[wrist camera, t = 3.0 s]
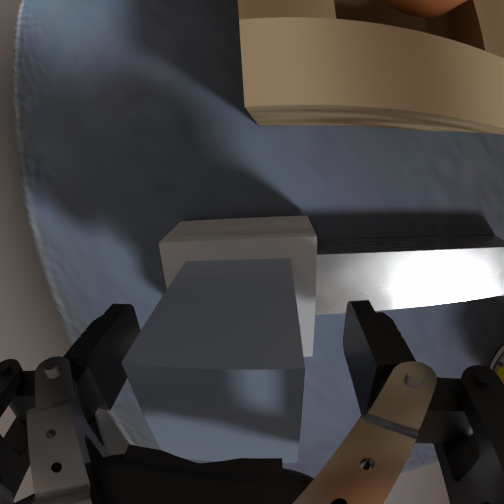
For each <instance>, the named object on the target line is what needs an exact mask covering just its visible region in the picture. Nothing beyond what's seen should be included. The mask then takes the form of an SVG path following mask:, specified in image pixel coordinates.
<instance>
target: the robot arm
mask: <svg viewBox="0 0 504 504" xmlns="http://www.w3.org/2000/svg"><path fill="white" fill-rule="evenodd" d="M139 333H140V328H139V324H138V321H137V317H136V313H135V310H134V307H133V306H132V305H131V304H112V305H111V306H110V307H109V309H108V310H107V311H106V312H105V313H104V315H102V316H100V317H99V318H97V319H96V320H94V321H93V322H92V323H91V324H90V325H89V326H88V327H87V329H86V331H84V332H83V333H82V334H81V337H79V338H78V339H77V341H76V342H75V343H74V344H73V345H72V347H71V348H70V349H69V350H68V352H67V353H66V354H65V356H63V357H60V356H59V357H58V356H57V357H51V358H48V359H46V360H44V361H43V362H42V363H40V364H39V366H38V367H37V368H36V371H23V370H22V368H21V366H20V364H19V362H18V361H17V360H14V359H7V360H4V361H2V362H0V417H1V416H2V414H3V413H4V411H5V410H6V408H7V407H8V405H9V406H10V408H11V409H12V411H13V412H14V414H15V415H16V418H15V420H14V422H13V423H12V425H11V426H10V428H9V430H8V432H7V433H6V435H5V437H4V438H3V437H2V436H1V435H0V504H383V503H384V501H385V499H386V498H387V496H388V494H389V493H390V491H391V489H392V487H393V486H394V484H395V482H396V480H397V478H398V476H399V474H400V473H401V471H402V469H403V467H404V465H405V463H406V461H407V459H408V457H409V455H410V452H411V450H412V448H413V446H414V444H415V443H433V444H434V447H435V450H436V453H437V456H438V460H439V463H440V466H441V470H442V474H443V477H444V481H445V485H446V489H447V493H448V497H449V501H450V504H504V384H503V382H502V380H501V379H500V377H499V376H498V374H497V373H496V372H495V371H493V370H492V369H490V368H488V367H486V366H481V365H474V366H470V367H468V368H467V369H466V370H465V371H464V372H463V374H462V377H461V379H454V378H439V377H437V376H436V374H435V372H434V371H433V369H431V368H430V367H429V366H427V365H425V364H423V363H420V362H416V360H415V359H414V357H413V355H412V353H411V351H410V349H409V348H408V346H407V344H406V342H405V340H404V339H403V337H402V335H401V333H400V332H399V330H397V326H396V325H395V323H394V321H393V320H392V319H391V318H390V317H389V316H387V315H386V314H384V313H383V312H378V313H376V312H375V310H374V308H373V307H372V305H371V303H370V301H369V300H357V301H348V303H347V308H346V318H345V327H344V335H343V348H344V354H345V357H346V361H347V364H348V367H349V371H350V375H351V378H352V382H353V385H354V389H355V393H356V396H357V400H358V404H359V408H360V411H361V415H362V416H361V417H360V418H359V419H358V421H357V422H356V424H355V425H354V427H353V428H352V430H351V431H350V432H349V434H348V435H347V437H346V438H345V440H344V441H343V442H342V444H341V445H340V446H339V448H338V449H337V451H336V452H335V453H334V454H333V456H332V457H331V458H330V460H329V461H328V462H327V464H326V465H325V466H324V467H323V469H322V470H321V471H320V472H319V474H318V475H317V476H316V477H315V478H312V477H310V476H308V475H306V474H303V473H301V472H297V471H294V470H290V469H285V468H282V458H238V459H232V460H225V461H218V462H210V463H195V462H192V461H189V460H186V459H184V458H181V457H178V456H175V455H173V454H170V453H168V452H165V451H162V450H156V449H150V448H145V447H139V446H134V445H130V444H129V446H128V448H127V451H126V453H125V454H119V455H112V456H111V454H110V452H109V449H108V447H107V443H106V441H105V438H104V434H103V431H102V428H101V425H100V422H99V419H98V416H97V414H96V413H95V412H96V410H97V409H98V408H101V409H105V410H111V408H112V406H113V404H114V402H115V400H116V398H117V396H118V394H119V393H120V391H121V389H122V387H123V385H124V383H125V381H126V379H127V378H128V377H127V375H126V372H125V370H124V367H123V365H122V361H123V359H124V357H125V356H126V354H127V353H128V351H129V349H130V348H131V346H132V344H133V343H134V341H135V339H136V338H137V336H138V335H139ZM30 465H31V473H32V480H33V486H34V492H35V493H34V494H32V495H30V496H28V497H26V498H24V499H22V500H20V501H18V502H16V503H14V498H15V495H16V493H17V491H18V489H19V486H20V484H21V482H22V480H23V478H24V476H25V474H26V472H27V470H28V468H29V466H30Z"/></svg>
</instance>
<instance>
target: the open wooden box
mask: <svg viewBox="0 0 504 504" xmlns="http://www.w3.org/2000/svg"><path fill="white" fill-rule="evenodd" d="M238 12H239V27H240V43H241V58H242V74H243V89H244V105H245V108H246V109H247V111H248V112H249V113H250V115H251V116H252V117H253V119H254V120H255V121H256V123H257V124H258V125H259V126H282V125H346V126H369V127H384V128H397V129H408V130H418V131H457V132H478V133H493V134H504V0H467V1H465V2H463V3H462V4H460V5H458V6H456V7H455V8H453V9H451V10H450V11H448V12H446V13H445V14H443V15H441V16H438V17H434V18H421V17H415V16H411V15H408V14H405V13H402V12H399V11H397V10H395V9H393V8H391V7H389V6H387V5H386V4H384V3H382V2H381V1H379V0H238Z"/></svg>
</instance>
